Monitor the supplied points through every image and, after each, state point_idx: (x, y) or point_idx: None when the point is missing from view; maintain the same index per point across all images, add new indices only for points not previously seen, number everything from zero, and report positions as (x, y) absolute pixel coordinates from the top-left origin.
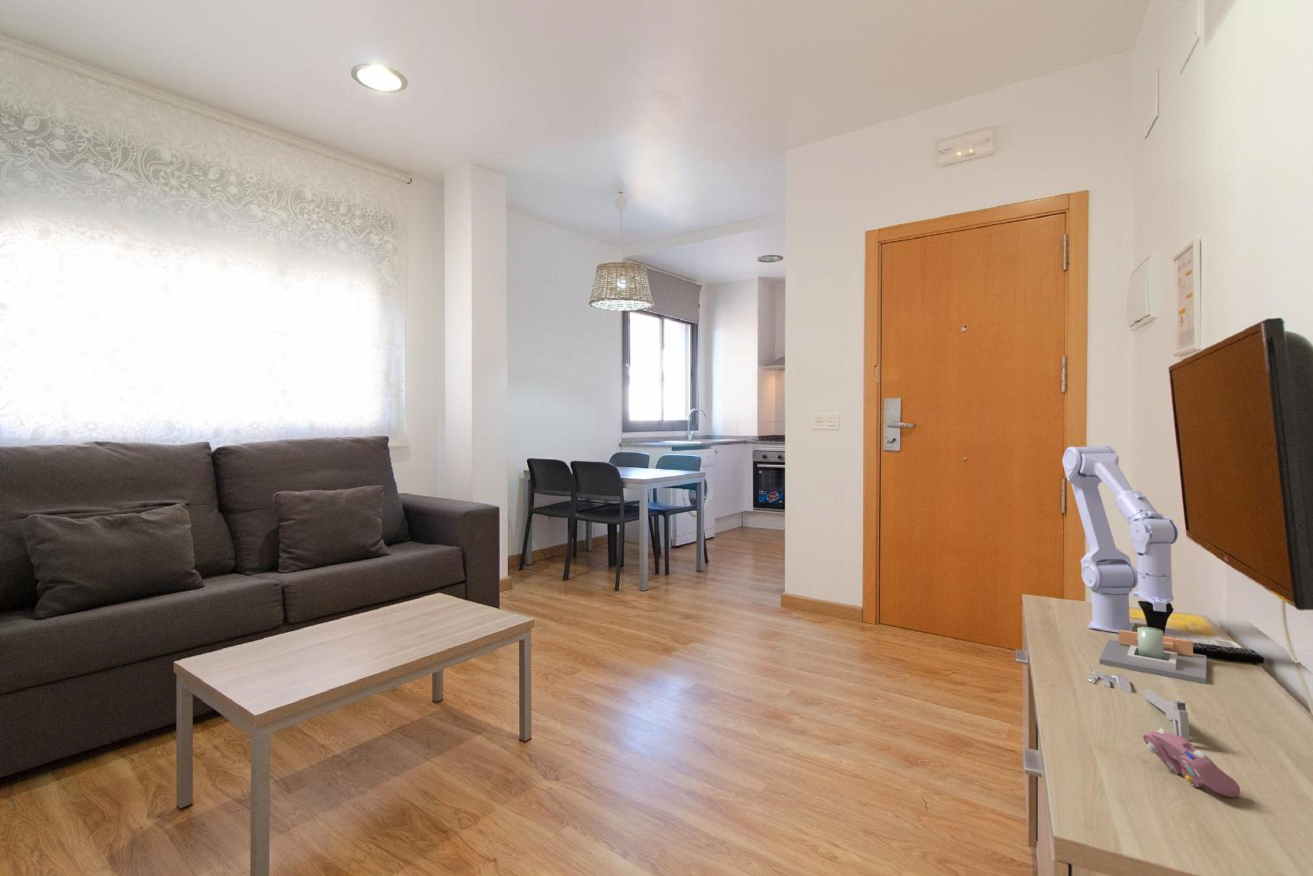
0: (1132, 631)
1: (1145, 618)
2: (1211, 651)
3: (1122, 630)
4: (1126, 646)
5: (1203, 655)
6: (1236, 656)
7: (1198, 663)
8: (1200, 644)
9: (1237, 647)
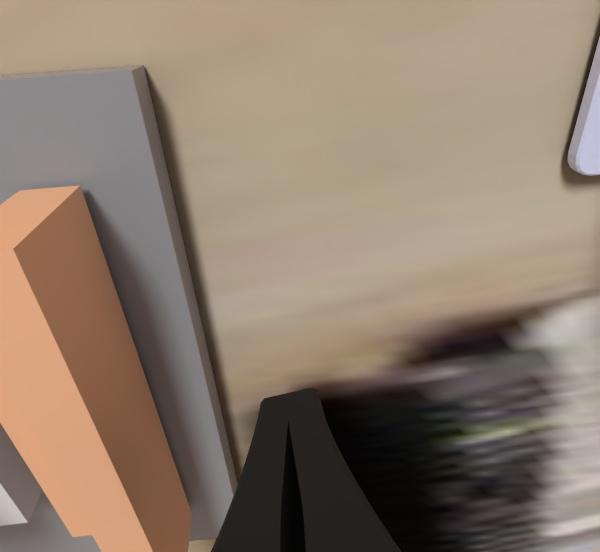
0: (68, 365)
1: (329, 521)
2: (423, 496)
3: (1, 288)
4: None
5: None
6: (400, 546)
7: (60, 539)
8: (528, 458)
9: (546, 531)
